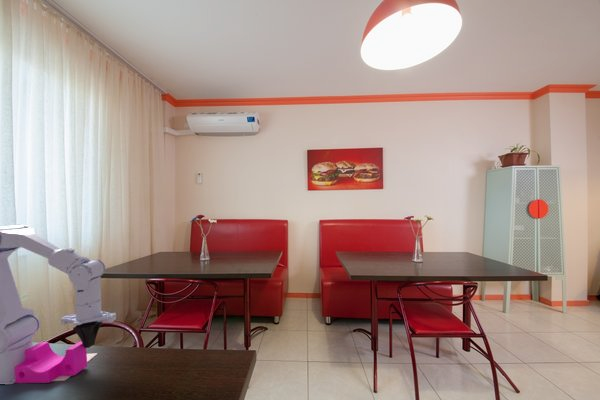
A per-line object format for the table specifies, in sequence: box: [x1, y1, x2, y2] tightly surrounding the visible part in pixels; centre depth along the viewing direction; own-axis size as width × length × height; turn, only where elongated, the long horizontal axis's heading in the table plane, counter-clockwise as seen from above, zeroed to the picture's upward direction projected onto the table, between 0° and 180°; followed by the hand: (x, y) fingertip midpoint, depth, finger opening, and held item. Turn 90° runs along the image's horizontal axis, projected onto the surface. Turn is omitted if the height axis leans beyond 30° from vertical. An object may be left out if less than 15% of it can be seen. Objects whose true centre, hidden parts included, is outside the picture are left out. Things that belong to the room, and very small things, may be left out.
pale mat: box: [51, 352, 99, 382], centre depth 69 cm, size 8×11×1 cm
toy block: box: [14, 340, 88, 384], centre depth 66 cm, size 15×6×8 cm, turn 86°
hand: (89, 345), depth 69 cm, fingers closed
